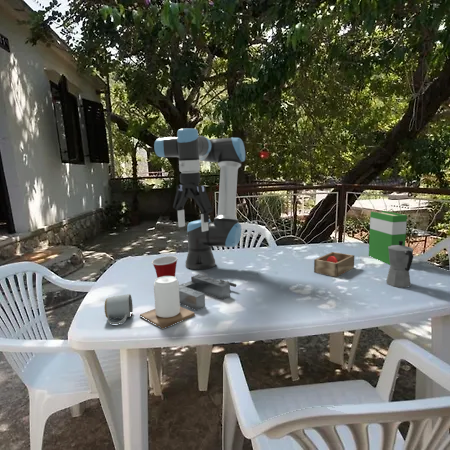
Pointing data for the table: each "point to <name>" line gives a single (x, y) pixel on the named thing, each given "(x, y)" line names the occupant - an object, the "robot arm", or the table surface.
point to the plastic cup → (165, 266)
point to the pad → (167, 321)
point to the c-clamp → (203, 290)
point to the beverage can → (166, 296)
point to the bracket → (332, 259)
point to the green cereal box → (386, 233)
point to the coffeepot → (399, 265)
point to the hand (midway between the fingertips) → (193, 228)
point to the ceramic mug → (118, 307)
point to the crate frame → (334, 264)
